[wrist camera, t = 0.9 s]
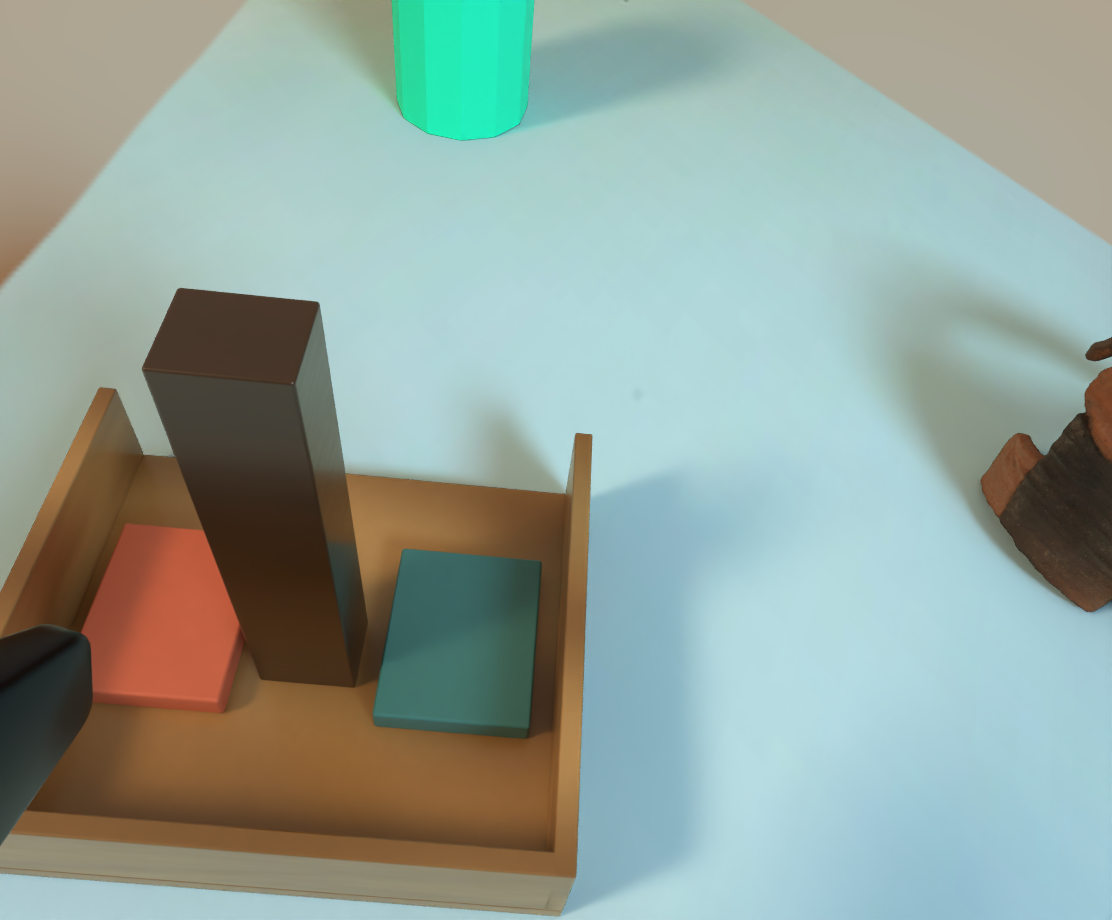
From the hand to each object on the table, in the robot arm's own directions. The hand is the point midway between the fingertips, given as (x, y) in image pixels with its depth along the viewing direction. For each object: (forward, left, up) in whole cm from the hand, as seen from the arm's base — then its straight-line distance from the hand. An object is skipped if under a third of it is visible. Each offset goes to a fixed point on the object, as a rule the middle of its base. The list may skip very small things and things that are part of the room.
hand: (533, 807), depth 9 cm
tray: (+5, +9, -15) cm, 18 cm away
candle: (+30, +22, -16) cm, 40 cm away
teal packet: (+7, +6, -15) cm, 17 cm away
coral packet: (+3, +12, -15) cm, 20 cm away
